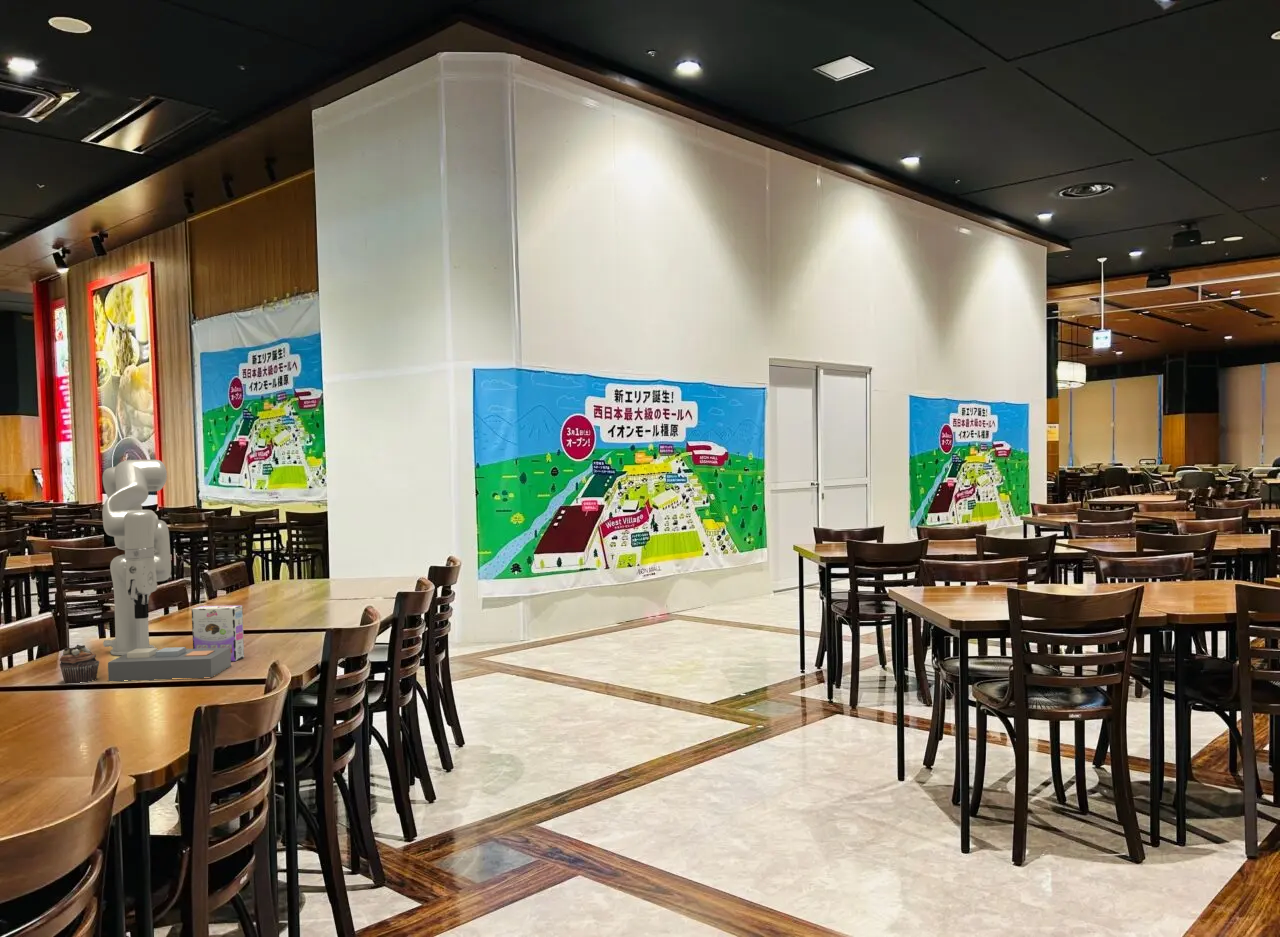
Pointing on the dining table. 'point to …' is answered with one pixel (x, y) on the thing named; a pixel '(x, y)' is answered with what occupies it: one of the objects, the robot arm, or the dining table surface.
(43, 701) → the dining table surface
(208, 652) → the terracotta key
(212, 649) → the keypad
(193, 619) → the candy box
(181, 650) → the slate key
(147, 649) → the cream key
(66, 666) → the cupcake
